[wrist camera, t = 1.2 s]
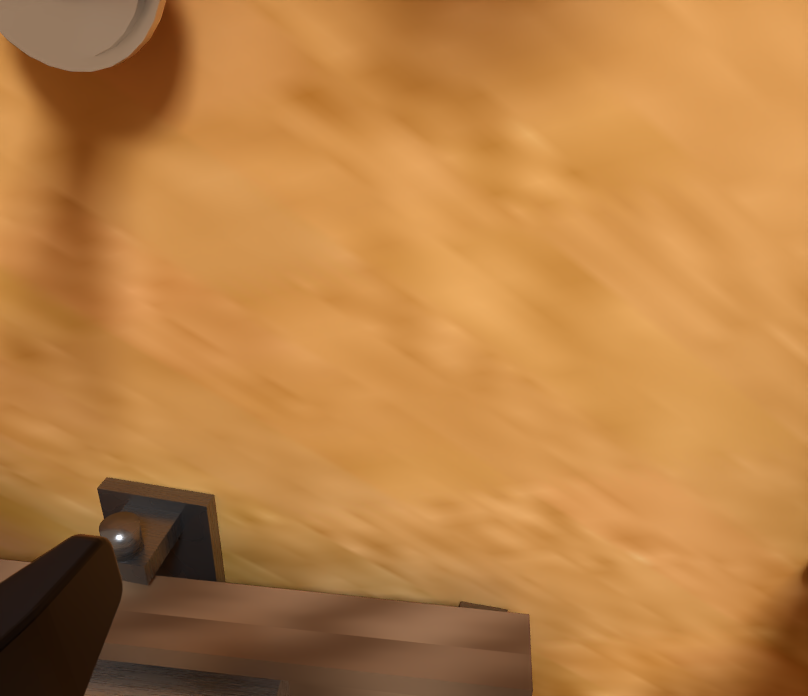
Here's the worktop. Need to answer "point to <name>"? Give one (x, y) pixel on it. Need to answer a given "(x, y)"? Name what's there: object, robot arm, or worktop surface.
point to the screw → (80, 30)
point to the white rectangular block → (175, 682)
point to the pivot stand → (166, 533)
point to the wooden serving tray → (319, 639)
